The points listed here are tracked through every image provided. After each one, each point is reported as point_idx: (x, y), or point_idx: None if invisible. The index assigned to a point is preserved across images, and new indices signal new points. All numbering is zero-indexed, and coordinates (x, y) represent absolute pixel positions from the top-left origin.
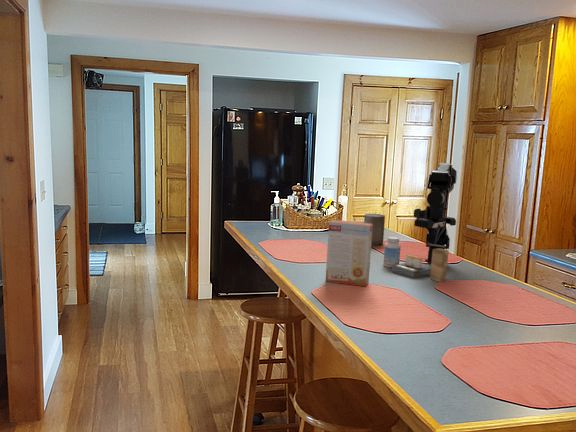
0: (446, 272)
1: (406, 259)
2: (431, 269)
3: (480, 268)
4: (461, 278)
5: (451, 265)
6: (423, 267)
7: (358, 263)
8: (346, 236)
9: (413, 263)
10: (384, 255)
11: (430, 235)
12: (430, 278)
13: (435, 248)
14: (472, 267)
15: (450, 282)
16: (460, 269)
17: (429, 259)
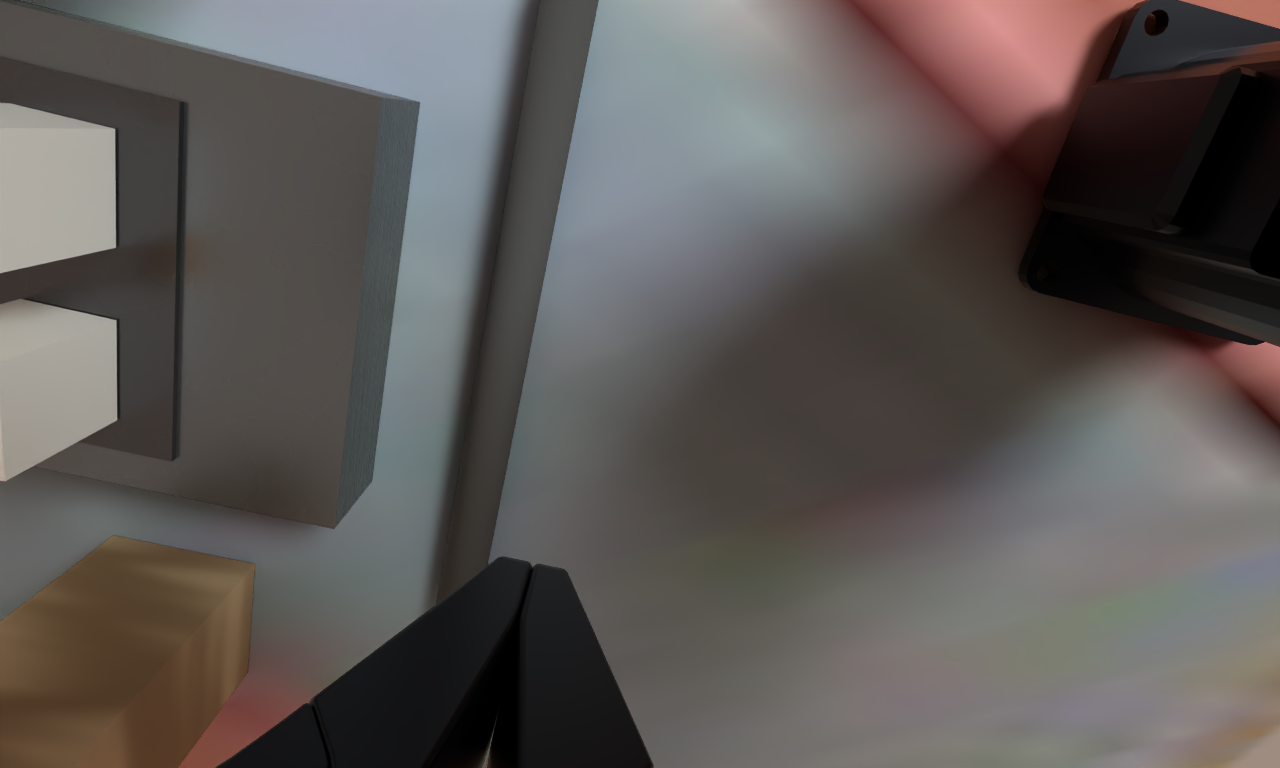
0: (192, 747)
1: None
2: (7, 628)
3: (1182, 745)
4: (488, 751)
5: (1102, 454)
6: (157, 427)
7: None
8: None
9: (88, 252)
10: None
11: (289, 752)
12: (109, 548)
13: (1267, 256)
14: (1174, 672)
15: (210, 732)
16: (936, 611)
17: (1085, 127)
